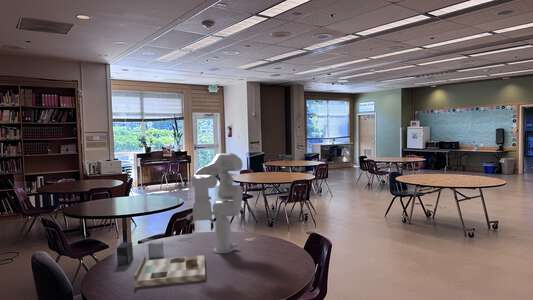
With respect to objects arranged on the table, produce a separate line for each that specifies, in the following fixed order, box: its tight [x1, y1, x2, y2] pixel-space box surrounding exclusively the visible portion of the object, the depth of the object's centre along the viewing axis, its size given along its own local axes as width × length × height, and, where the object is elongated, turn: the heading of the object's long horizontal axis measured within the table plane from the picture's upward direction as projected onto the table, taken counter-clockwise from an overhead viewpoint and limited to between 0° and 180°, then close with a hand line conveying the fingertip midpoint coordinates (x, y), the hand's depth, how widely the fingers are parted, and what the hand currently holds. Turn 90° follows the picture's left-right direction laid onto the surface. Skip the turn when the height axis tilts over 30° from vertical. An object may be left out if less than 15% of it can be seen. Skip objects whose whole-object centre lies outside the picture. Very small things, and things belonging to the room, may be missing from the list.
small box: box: [116, 241, 134, 266], centre depth 214 cm, size 11×6×10 cm, turn 5°
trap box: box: [133, 254, 206, 288], centre depth 195 cm, size 34×30×6 cm
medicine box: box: [147, 241, 165, 258], centre depth 222 cm, size 8×4×9 cm, turn 84°
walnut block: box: [185, 255, 198, 268], centre depth 197 cm, size 6×6×4 cm
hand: (202, 230), depth 199 cm, fingers open, 9 cm apart
